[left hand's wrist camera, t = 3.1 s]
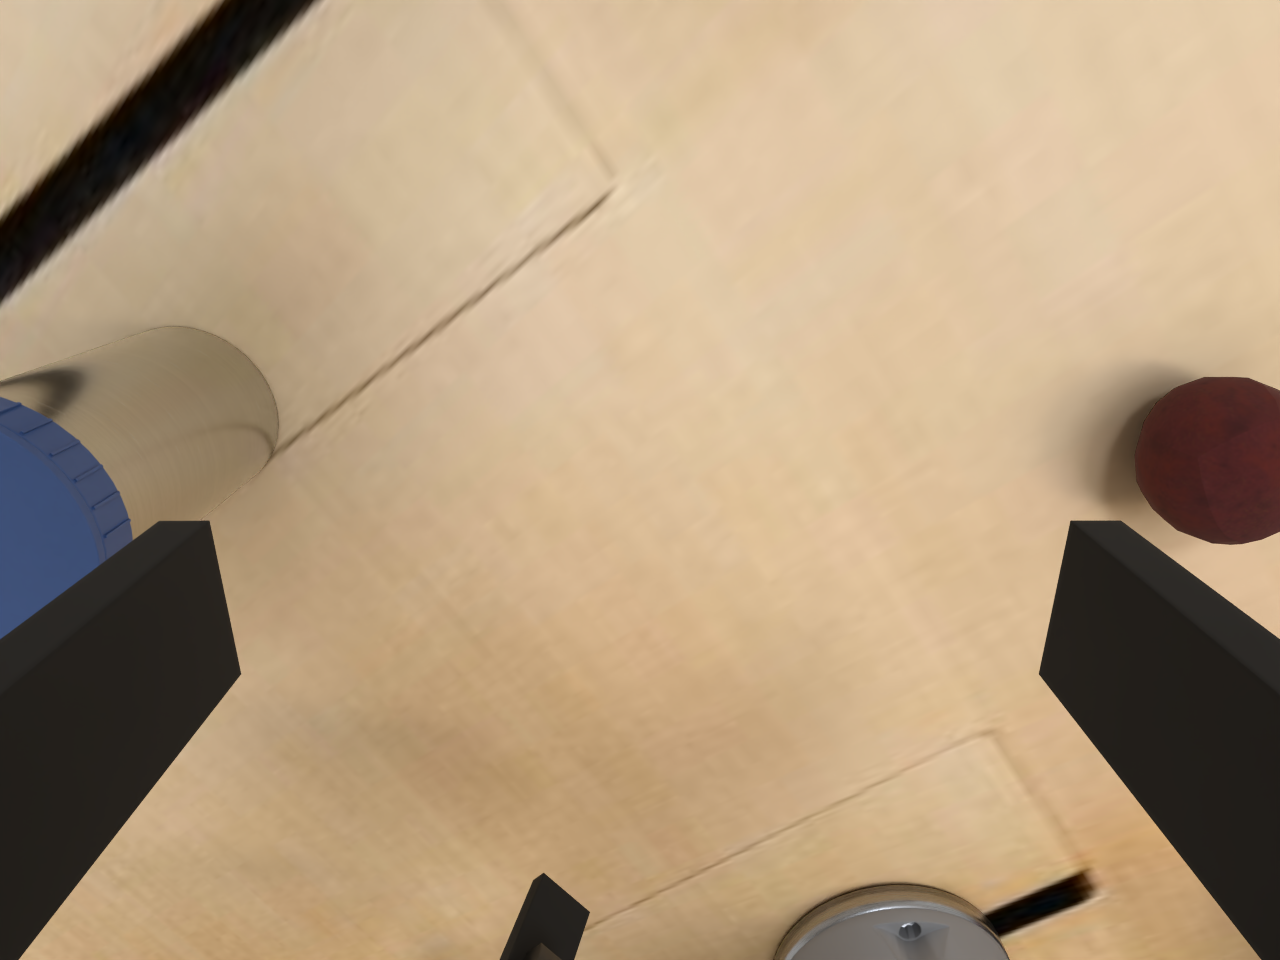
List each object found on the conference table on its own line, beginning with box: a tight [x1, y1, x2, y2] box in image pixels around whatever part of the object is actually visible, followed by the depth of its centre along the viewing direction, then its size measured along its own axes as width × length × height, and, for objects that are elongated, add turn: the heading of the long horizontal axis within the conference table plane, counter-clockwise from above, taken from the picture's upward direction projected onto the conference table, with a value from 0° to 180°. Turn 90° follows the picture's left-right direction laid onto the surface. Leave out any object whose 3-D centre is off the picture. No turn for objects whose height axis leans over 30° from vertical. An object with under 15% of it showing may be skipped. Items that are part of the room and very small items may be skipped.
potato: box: [1135, 377, 1280, 545], centre depth 38 cm, size 7×8×7 cm
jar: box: [0, 327, 278, 540], centre depth 34 cm, size 8×8×15 cm
